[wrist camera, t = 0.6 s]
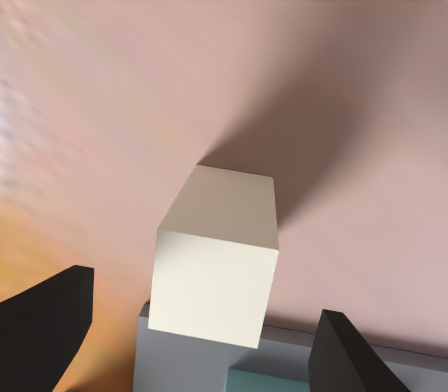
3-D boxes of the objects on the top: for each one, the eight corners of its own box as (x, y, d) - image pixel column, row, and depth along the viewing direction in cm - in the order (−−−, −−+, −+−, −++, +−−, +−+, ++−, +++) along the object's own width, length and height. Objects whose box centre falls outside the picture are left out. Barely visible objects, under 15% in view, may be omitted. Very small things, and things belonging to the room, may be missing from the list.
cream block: (273, 177, 20) (278, 250, 13) (259, 246, 22) (257, 348, 14) (196, 164, 20) (157, 228, 13) (187, 233, 22) (147, 328, 14)
